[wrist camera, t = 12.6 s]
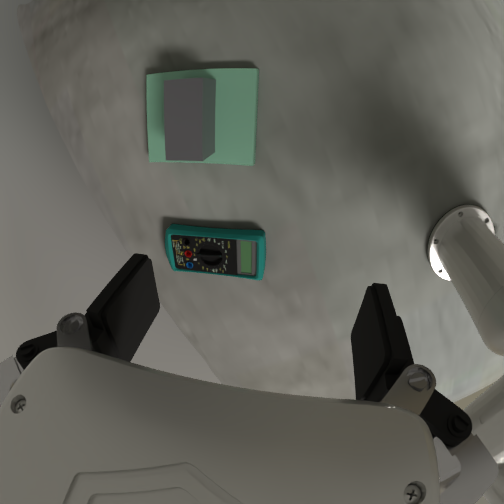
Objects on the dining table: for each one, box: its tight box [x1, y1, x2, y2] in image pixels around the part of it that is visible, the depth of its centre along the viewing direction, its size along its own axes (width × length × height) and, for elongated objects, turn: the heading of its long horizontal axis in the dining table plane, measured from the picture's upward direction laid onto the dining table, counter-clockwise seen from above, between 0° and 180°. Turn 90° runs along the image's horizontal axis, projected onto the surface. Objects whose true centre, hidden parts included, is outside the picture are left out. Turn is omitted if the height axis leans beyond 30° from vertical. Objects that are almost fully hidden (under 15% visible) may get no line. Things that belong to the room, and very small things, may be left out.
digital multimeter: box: [165, 224, 266, 280], centre depth 42 cm, size 7×15×3 cm, turn 90°
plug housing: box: [164, 78, 216, 161], centre depth 30 cm, size 4×9×5 cm, turn 178°
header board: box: [147, 68, 259, 166], centre depth 31 cm, size 14×12×4 cm
